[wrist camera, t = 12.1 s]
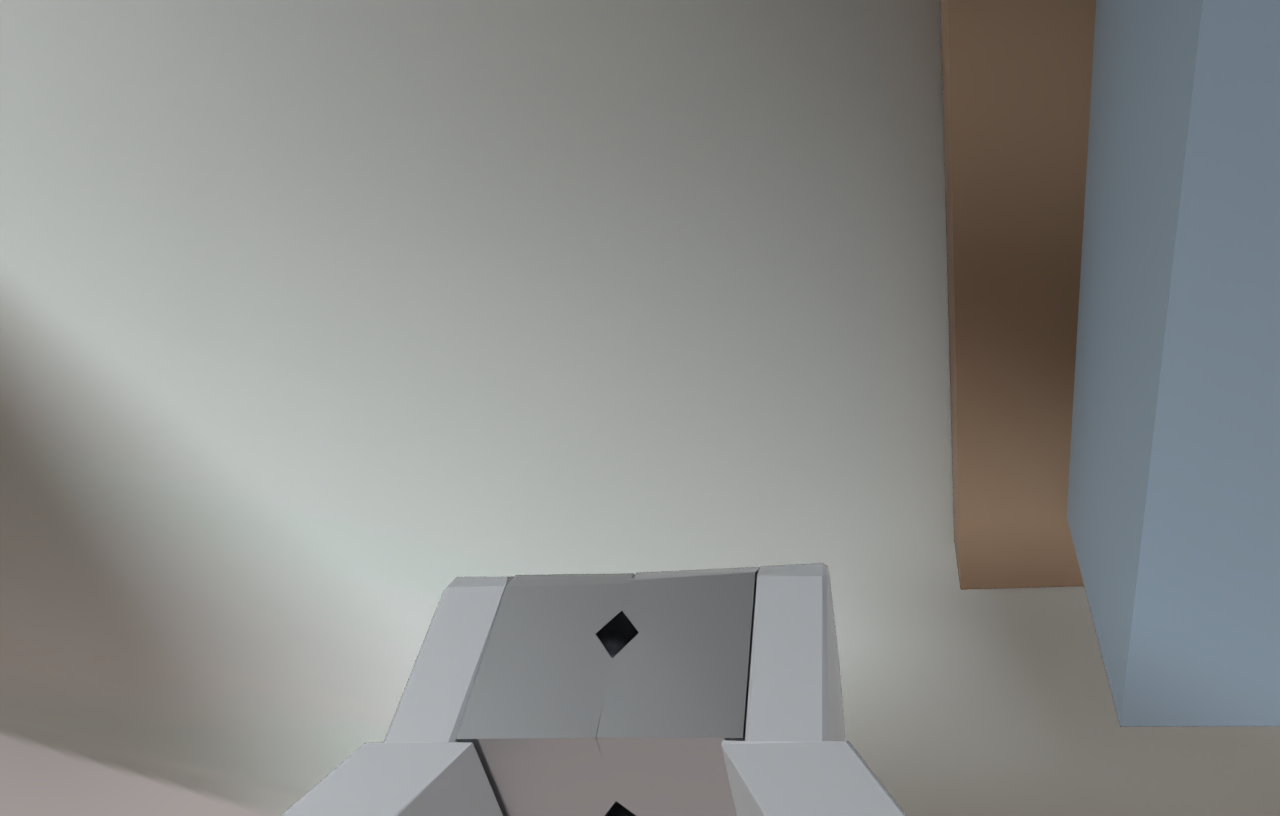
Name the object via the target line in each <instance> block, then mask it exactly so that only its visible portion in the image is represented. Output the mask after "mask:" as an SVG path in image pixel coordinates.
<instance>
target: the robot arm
mask: <svg viewBox="0 0 1280 816" xmlns="http://www.w3.org/2000/svg"><path fill="white" fill-rule="evenodd" d="M281 816H906V815H905V813H904V812H903V811H902V809H901V808H900V807H899V805H898V804H897V803H896V802H895V800H894V799H893V798H892V796H891V795H890V794H889V793H888V791H887V790H886V789H885V787H884V786H883V785H882V783H881V782H880V781H879V780H878V778H877V777H876V776H875V774H874V773H873V772H872V770H871V769H870V768H869V767H868V765H867V764H866V763H865V761H864V760H863V759H862V757H861V756H860V755H859V754H858V752H857V751H856V750H855V748H854V747H853V746H852V744H851V743H850V742H849V741H845V726H844V714H843V701H842V689H841V676H840V665H839V656H838V647H837V638H836V629H835V619H834V610H833V601H832V592H831V583H830V576H829V571H828V566H827V565H825V564H824V563H814V564H795V565H776V566H761V567H746V568H725V569H704V570H682V571H661V572H640V573H636V574H634V573H628V574H553V575H515V577H456V578H455V579H454V580H453V581H452V582H451V583H450V584H449V585H448V586H447V587H446V589H445V590H444V591H443V593H442V596H441V598H440V601H439V603H438V606H437V608H436V611H435V613H434V616H433V618H432V621H431V623H430V626H429V629H428V631H427V634H426V636H425V639H424V641H423V644H422V646H421V649H420V651H419V654H418V656H417V659H416V661H415V664H414V666H413V669H412V671H411V674H410V676H409V679H408V682H407V684H406V687H405V689H404V692H403V694H402V697H401V699H400V702H399V704H398V707H397V709H396V712H395V714H394V717H393V719H392V722H391V724H390V727H389V729H388V732H387V735H386V737H385V740H384V742H371V743H364V744H363V745H362V746H361V747H360V748H359V749H358V750H356V751H355V752H354V753H353V754H352V755H351V756H349V757H348V758H347V759H346V760H345V761H344V762H342V763H341V764H340V765H339V766H338V767H337V768H335V769H334V770H333V771H332V772H331V773H330V774H329V775H327V776H326V777H325V778H324V779H323V780H322V781H320V782H319V783H318V784H317V785H316V786H315V787H313V788H312V789H311V790H310V791H309V792H308V793H307V794H305V795H304V796H303V797H302V798H301V799H300V800H298V801H297V802H296V803H295V804H294V805H293V806H291V807H290V808H289V809H288V810H287V811H286V812H284V813H283V814H282V815H281Z"/></svg>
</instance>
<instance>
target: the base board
mask: <svg viewBox="0 0 1280 816" xmlns="http://www.w3.org/2000/svg"><path fill="white" fill-rule="evenodd" d="M1095 14H1096V0H941V36H942V76H943V116H944V155H945V195H946V235H947V275H948V314H949V354H950V394H951V434H952V473H953V513H954V543H955V550H956V558H957V565H958V573H959V581H960V588H961V589H995V588H1028V587H1062V586H1084V583H1083V579H1082V575H1081V572H1080V568H1079V564H1078V560H1077V556H1076V552H1075V548H1074V544H1073V540H1072V536H1071V532H1070V528H1069V525H1068V521H1067V501H1068V484H1069V466H1070V449H1071V431H1072V414H1073V397H1074V379H1075V362H1076V345H1077V327H1078V310H1079V292H1080V275H1081V258H1082V240H1083V223H1084V206H1085V188H1086V171H1087V153H1088V136H1089V119H1090V101H1091V84H1092V66H1093V49H1094V32H1095Z"/></svg>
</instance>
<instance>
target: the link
mask: <svg viewBox="0 0 1280 816" xmlns="http://www.w3.org/2000/svg"><path fill="white" fill-rule="evenodd" d="M1067 521H1068V525H1069V528H1070V532H1071V536H1072V540H1073V544H1074V548H1075V552H1076V556H1077V560H1078V564H1079V568H1080V572H1081V575H1082V579H1083V583H1084V587H1085V591H1086V595H1087V599H1088V603H1089V607H1090V611H1091V615H1092V619H1093V623H1094V626H1095V630H1096V634H1097V638H1098V642H1099V646H1100V650H1101V654H1102V658H1103V662H1104V666H1105V670H1106V674H1107V677H1108V681H1109V685H1110V689H1111V693H1112V697H1113V701H1114V705H1115V709H1116V713H1117V717H1118V721H1119V725H1120V727H1142V726H1280V0H1096V14H1095V32H1094V49H1093V66H1092V84H1091V101H1090V119H1089V136H1088V153H1087V171H1086V188H1085V206H1084V223H1083V240H1082V258H1081V275H1080V292H1079V310H1078V327H1077V345H1076V362H1075V379H1074V397H1073V414H1072V431H1071V449H1070V466H1069V484H1068V501H1067Z"/></svg>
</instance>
